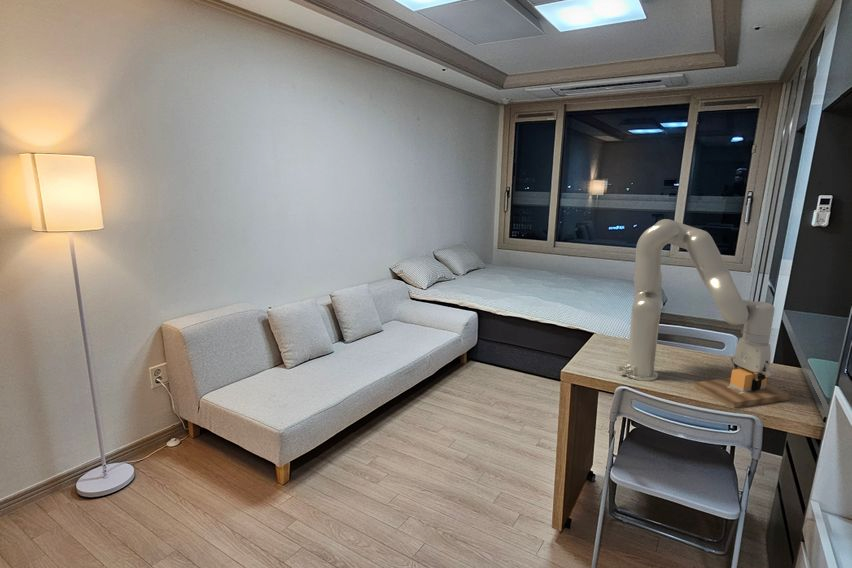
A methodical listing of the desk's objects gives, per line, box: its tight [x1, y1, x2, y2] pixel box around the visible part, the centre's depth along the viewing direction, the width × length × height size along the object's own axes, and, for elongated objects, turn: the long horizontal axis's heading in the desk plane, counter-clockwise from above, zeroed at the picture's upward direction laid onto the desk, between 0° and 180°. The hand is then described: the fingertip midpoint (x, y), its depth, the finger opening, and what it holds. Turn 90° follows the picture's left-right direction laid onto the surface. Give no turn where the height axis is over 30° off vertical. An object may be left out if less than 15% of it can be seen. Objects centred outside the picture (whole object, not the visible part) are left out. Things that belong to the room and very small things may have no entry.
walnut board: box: [693, 377, 793, 409], centre depth 156 cm, size 24×16×2 cm, turn 104°
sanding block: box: [730, 368, 768, 392], centre depth 156 cm, size 10×5×6 cm, turn 105°
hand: (747, 385), depth 156 cm, fingers closed on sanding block, 5 cm apart
